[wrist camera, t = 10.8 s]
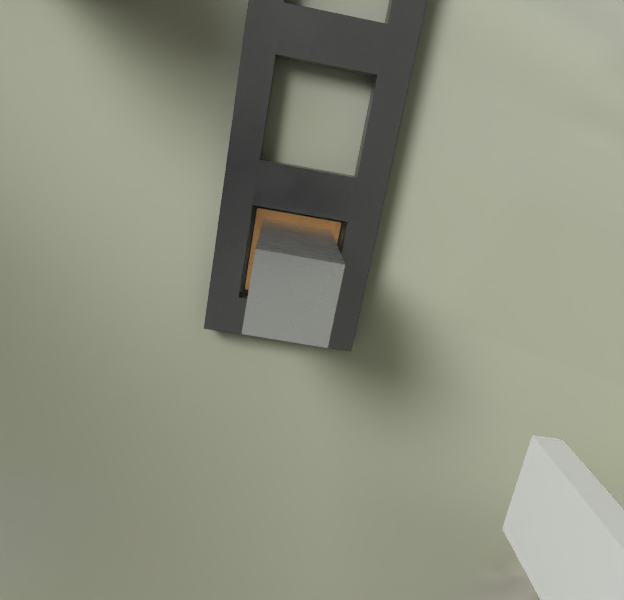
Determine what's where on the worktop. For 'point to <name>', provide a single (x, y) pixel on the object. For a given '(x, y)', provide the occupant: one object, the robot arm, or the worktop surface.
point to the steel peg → (294, 284)
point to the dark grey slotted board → (301, 180)
